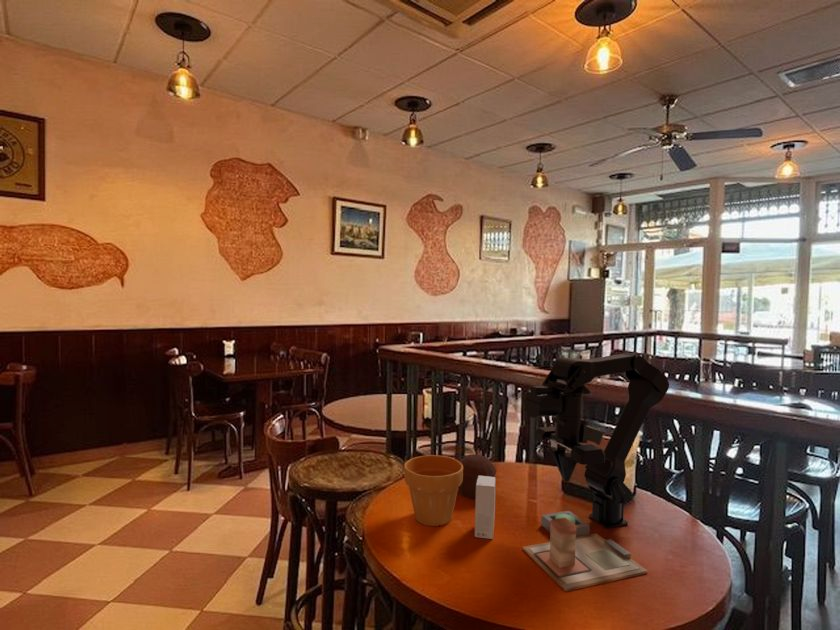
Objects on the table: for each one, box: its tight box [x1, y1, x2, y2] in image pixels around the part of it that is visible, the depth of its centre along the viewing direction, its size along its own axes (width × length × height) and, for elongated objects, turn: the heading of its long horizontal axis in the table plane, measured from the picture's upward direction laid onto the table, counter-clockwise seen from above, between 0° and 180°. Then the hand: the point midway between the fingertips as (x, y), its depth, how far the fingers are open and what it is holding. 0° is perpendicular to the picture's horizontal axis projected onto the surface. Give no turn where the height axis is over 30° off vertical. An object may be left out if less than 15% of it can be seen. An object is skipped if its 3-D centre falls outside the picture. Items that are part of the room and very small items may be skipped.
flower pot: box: [403, 454, 463, 527], centre depth 115 cm, size 14×14×13 cm
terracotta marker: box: [549, 518, 576, 568], centre depth 96 cm, size 4×4×8 cm
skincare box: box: [474, 476, 496, 540], centre depth 108 cm, size 6×4×12 cm
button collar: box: [541, 510, 591, 537], centre depth 110 cm, size 8×8×2 cm
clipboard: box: [522, 533, 648, 592], centre depth 98 cm, size 19×15×2 cm
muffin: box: [458, 453, 498, 501], centre depth 130 cm, size 12×11×10 cm
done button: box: [555, 514, 575, 524], centre depth 110 cm, size 4×4×3 cm
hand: (566, 480), depth 109 cm, fingers closed
